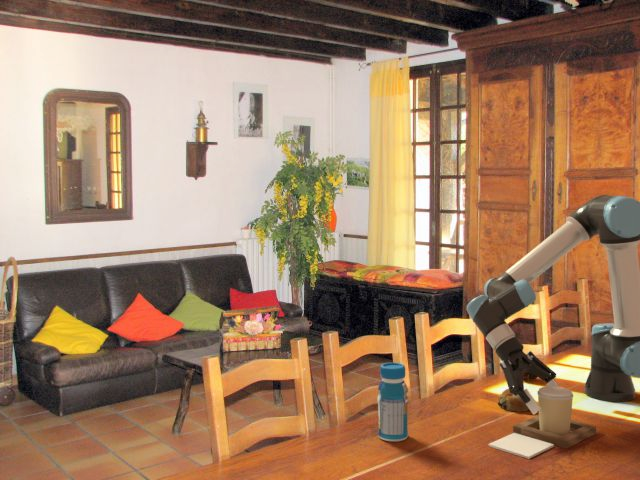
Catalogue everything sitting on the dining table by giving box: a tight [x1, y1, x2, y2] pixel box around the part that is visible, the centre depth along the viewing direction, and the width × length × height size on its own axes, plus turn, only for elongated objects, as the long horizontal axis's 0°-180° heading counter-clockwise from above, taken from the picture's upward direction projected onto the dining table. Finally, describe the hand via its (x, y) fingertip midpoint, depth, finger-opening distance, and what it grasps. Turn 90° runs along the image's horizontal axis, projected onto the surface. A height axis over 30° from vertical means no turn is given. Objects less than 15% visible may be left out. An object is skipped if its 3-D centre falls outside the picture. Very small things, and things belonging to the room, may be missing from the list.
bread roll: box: [497, 388, 530, 412], centre depth 225 cm, size 10×10×8 cm
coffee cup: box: [537, 385, 574, 436], centre depth 202 cm, size 9×9×12 cm
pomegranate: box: [522, 364, 538, 384], centre depth 253 cm, size 7×7×10 cm
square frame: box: [512, 414, 597, 449], centre depth 203 cm, size 16×16×2 cm
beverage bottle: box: [376, 362, 409, 443], centre depth 200 cm, size 8×8×20 cm
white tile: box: [488, 432, 555, 460], centre depth 193 cm, size 12×12×1 cm
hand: (551, 406), depth 202 cm, fingers open, 13 cm apart
